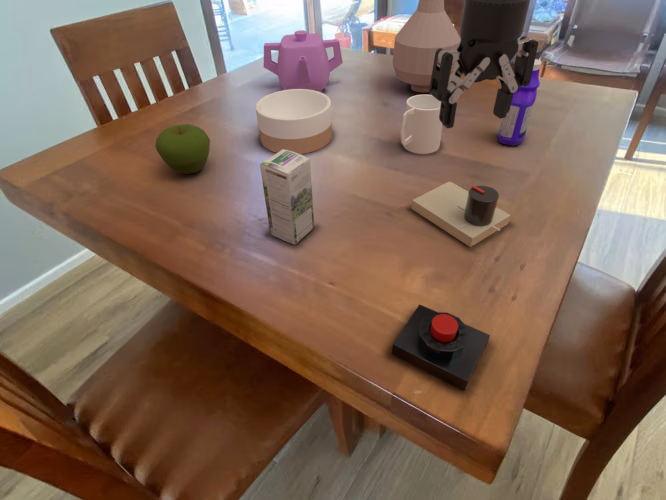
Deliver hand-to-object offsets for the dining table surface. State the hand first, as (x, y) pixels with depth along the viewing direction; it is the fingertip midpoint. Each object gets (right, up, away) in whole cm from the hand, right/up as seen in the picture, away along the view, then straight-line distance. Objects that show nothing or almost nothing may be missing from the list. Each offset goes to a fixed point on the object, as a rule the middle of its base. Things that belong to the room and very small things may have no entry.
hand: (473, 121), depth 62 cm
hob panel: (+2, -12, +16) cm, 20 cm away
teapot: (-29, +29, +65) cm, 76 cm away
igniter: (-6, -32, -5) cm, 33 cm away
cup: (-1, +4, +35) cm, 36 cm away
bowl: (-29, +8, +41) cm, 51 cm away
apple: (-51, -1, +31) cm, 60 cm away
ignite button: (-6, -29, -8) cm, 31 cm away
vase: (+5, +28, +61) cm, 67 cm away
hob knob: (+5, -13, +12) cm, 18 cm away
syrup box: (-27, -16, +14) cm, 35 cm away
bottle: (+20, +6, +37) cm, 42 cm away
